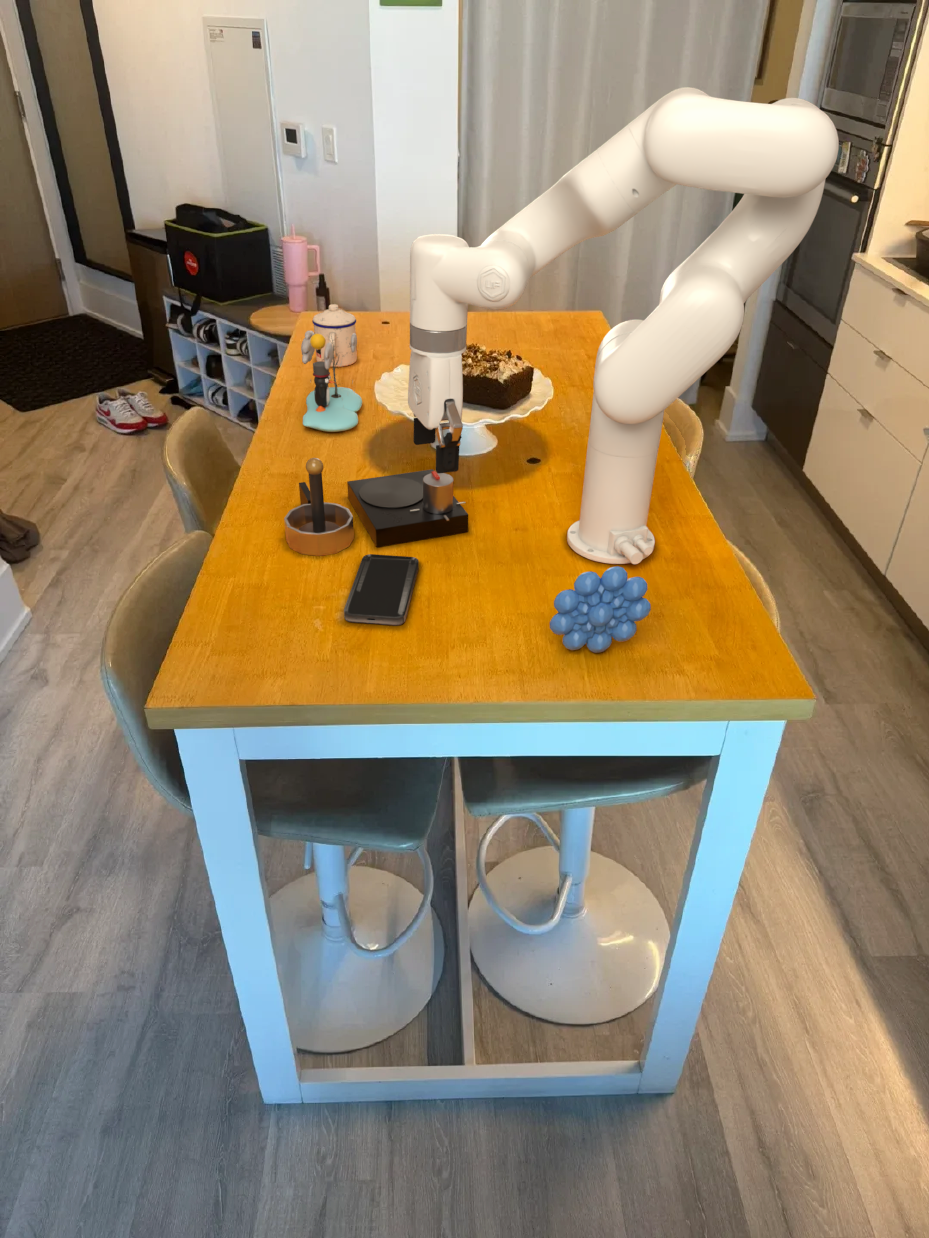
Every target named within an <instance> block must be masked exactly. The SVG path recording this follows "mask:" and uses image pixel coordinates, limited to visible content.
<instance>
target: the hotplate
mask: <svg viewBox="0 0 929 1238" xmlns="http://www.w3.org/2000/svg"><path fill="white" fill-rule="evenodd" d="M432 471H435V470H434V469H431V468H430V469H425V470H417V471H412V472H403V473H396V474H391V475H384V476H376V477H369V478H362V479H361V478H360V479H355V480H348V481H347V482H346V485H347V499H348V501H349V503H350V505H352V507H353V510H354V511H355V513H356V514H357V516H358V518H359V520H360V521H361V523H362V525H363V527H364V529H365V530H366V531H367V533H368V535H369V537H370V538H371V540H372V542H373V544H374V546H375V547H376V548H382V547H388V546H393V545H400V544H407V543H412V542H419V541H424V540H431V539H437V538H442V537H448V536H454V535H460V534H466V533H467V534H468V533H469V513H468V512H467V511H466V509H465V508H464V507H463V505H466V503H467V502H466V501H458V499H457V498H456V497H455V496H454V495H453V509H452V510H451V511H449V512H447V513H443V514H433V513H429V512H427V511H425V510H424V508H423V500H421V501H420V502H418V503H417V504H414V505H412V506H408V507H404V508H380V507H376V506H372V505H370V504H367V503H366V502H364V501H363V500H362V499H361V498H360V495H359V491H360V489H361V487H362V486H363V485H365V484H366V483H368V482H370V481H373V480H376V479H380V478H388V477H398V478H406V479H410V480H413V481H416V482H418V483H420V484H421V485H422V486H423V478H424V476H426V475H428V474H431V473H432Z"/></svg>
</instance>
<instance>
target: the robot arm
mask: <svg viewBox="0 0 929 1238" xmlns="http://www.w3.org/2000/svg"><path fill="white" fill-rule="evenodd" d="M839 143H840V142H839V135H838V131H837V128H836V126H835V124H834V122H833V120H832V119H831V118H830V116H829V115H828V114H826V112H825V111H823V110H821V109H820V108H819V107H818V106H817V105H815V104H814V103H812V102H810V101H808V100H806V99H803V98H798V97H786V98H781V99H779V100H777V101H775V102H773V103H761V102H752V101H742V100H734V99H726V98H720V97H715V96H710V95H709V94H708V93H706V92H705V91H703V90H701V89H698V88H697V87H690V86H689V87H688V86H685V87H684V86H683V87H680V88H679V87H678V88H676V89H673V90H672V91H670V92H668V93H666V94H665V95H663V96H661V98H659V99H658V100H657V101H655V102H654V103H653V104H651V105H650V106H649V107H648V108H647V109H645V110H644V111H643V112H642V113H640V114H639V115H637V116H636V117H635V118H634V119H633V120H631V121H630V122H629V123H627V124H626V125H625V126H624V127H623V128H621V129H620V130H619V131H618V132H616V133H615V134H614V135H613V136H611V137H610V138H609V139H608V140H606V141H605V142H604V143H603V144H602V145H600V146H599V147H597V148H596V149H595V150H594V151H593V152H591V153H590V154H589V155H587V156H586V157H585V158H584V159H582V160H581V161H580V162H578V163H577V164H576V165H574V167H572V168H571V169H570V170H569V171H567V172H566V173H565V174H563V176H562V177H560V178H559V179H558V181H557V182H555V183H554V184H553V185H552V186H550V187H549V188H548V189H546V190H545V191H544V192H543V193H541V194H540V195H539V196H537V197H536V198H535V199H533V201H531V202H530V203H529V204H527V205H526V206H525V207H523V208H522V209H521V210H519V212H517V213H516V214H515V215H513V216H512V217H511V218H509V219H508V220H507V221H506V222H504V223H503V224H502V225H501V226H500V227H498V228H497V229H496V230H495V231H493V232H492V233H491V234H490V235H489V236H488V237H487V238H486V239H485V240H484V241H483V242H482V243H481V244H480V245H479V246H475V247H474V246H473V247H472V246H471V247H470V246H469V244H468V242H467V241H466V240H465V239H463V238H461V237H459V236H456V235H452V234H442V233H433V234H425V235H421V236H418V237H417V238H415V239H414V240H413V242H412V243H411V246H410V252H409V349H410V356H409V370H408V387H407V388H408V389H407V405H408V407H409V409H410V411H411V412H412V414H413V441H412V442H413V444H414V445H415V446H420V445H428V444H434V443H436V438H437V443H438V444H437V445H435V471H436V473H445V474H448V473H455V472H458V471H459V468H460V467H459V465H460V446H461V444H462V443H461V442H462V441H461V440H462V439H463V437H462V432H463V428H464V425H463V422H462V419H463V409H464V408H463V405H464V399H463V397H464V377H463V375H464V373H463V357H462V356H463V355H462V354H464V353H465V352H466V351H467V342H468V341H467V338H468V311H469V306H474V307H478V308H481V309H486V310H490V311H501V310H506V309H509V308H511V307H512V306H515V304H517V303H518V301H520V299H521V298H522V297H523V295H524V293H525V290H526V289H527V286H528V284H529V281H530V280H531V279H532V278H533V277H534V276H536V274H537V273H539V272H540V271H542V270H543V269H544V268H546V267H547V266H548V265H550V264H551V263H552V262H553V261H555V260H556V259H558V258H559V257H560V256H561V255H563V254H565V253H566V252H567V251H569V250H570V249H572V248H573V247H575V246H577V245H578V244H580V243H582V242H584V241H587V240H589V239H593V238H599V237H604V236H606V235H609V234H610V233H613V232H614V231H616V230H618V228H620V227H621V226H623V225H624V224H625V223H627V222H628V221H629V220H631V219H632V218H633V217H634V216H636V215H637V214H638V213H640V212H641V211H643V210H644V209H645V208H646V207H648V206H649V205H651V204H652V203H653V202H655V201H656V200H657V199H658V198H660V197H661V196H663V195H664V194H666V192H669V191H670V190H671V189H672V188H674V187H675V186H677V185H679V186H683V187H690V188H694V189H699V190H701V189H702V190H708V191H715V192H724V193H734V194H735V193H736V194H742V197H741V199H740V200H739V202H738V203H737V204H736V206H735V207H734V208H733V209H732V211H731V212H730V213H729V214H727V216H726V217H725V218H724V220H723V221H721V223H720V224H719V225H718V227H716V229H715V230H714V231H713V232H712V233H710V235H708V236H707V237H706V239H705V240H704V241H703V242H702V243H701V244H700V245H699V246H698V247H696V249H695V250H694V251H693V252H692V253H690V255H689V256H688V257H687V258H686V259H685V260H683V261H682V262H681V263H680V264H679V265H678V266H677V267H676V268H675V269H673V271H671V273H670V274H669V275H668V276H667V278H666V279H665V281H664V283H663V285H662V286H661V290H660V294H659V300H658V301H659V302H658V305H657V306H656V307H655V308H654V310H653V311H652V312H651V313H650V314H649V315H647V317H646V318H645V319H638V318H637V319H629V320H625V321H623V322H620V323H618V324H616V325H615V326H614V327H612V328H611V329H610V330H609V331H608V332H607V333H606V334H605V335H604V337H603V339H602V340H601V342H600V344H599V347H598V349H597V353H596V358H595V364H594V374H593V384H592V385H593V386H592V387H593V394H592V403H591V413H590V421H589V432H588V439H587V448H586V457H585V466H584V476H583V483H582V484H583V486H582V494H581V503H580V512H579V520H577V521H575V522H573V523H572V524H571V525H570V527H569V528H568V530H567V534H566V541H567V544H568V546H569V547H570V549H572V550H573V551H574V553H576V554H578V555H579V556H580V557H583V558H586V559H588V560H590V561H593V562H597V563H601V564H610V565H625V564H632V565H638V564H639V563H641V562H642V561H643V560H644V559H646V558H648V557H649V556H650V555H651V554H652V553H653V552H654V549H655V543H656V539H655V536H654V534H653V532H652V531H651V530H650V529H649V527H648V526H647V524H648V519H649V511H650V504H651V499H652V493H653V492H652V491H653V486H654V478H655V472H656V467H657V460H658V453H659V448H660V443H661V436H662V429H663V423H664V416H665V410H666V409H667V408H668V407H670V406H671V405H672V404H673V403H674V402H675V401H676V400H677V399H678V398H679V397H681V396H682V395H683V394H684V393H686V391H687V390H688V389H689V388H691V387H692V386H693V384H695V383H696V382H697V381H698V380H699V379H700V378H701V377H703V375H704V374H705V373H706V372H708V371H709V370H710V369H711V368H712V367H714V365H715V364H716V363H717V362H718V361H719V360H721V358H722V357H723V356H724V355H725V354H726V353H727V352H728V351H729V350H730V348H731V346H733V344H734V343H735V341H736V340H737V338H738V336H739V335H740V332H741V329H742V327H743V323H744V318H745V303H746V302H747V300H748V299H750V298H751V296H752V295H754V293H755V292H756V291H757V290H758V289H759V288H760V287H761V286H763V284H764V283H766V281H767V280H768V279H769V278H770V277H771V276H772V275H773V273H775V271H776V270H777V269H778V268H779V267H780V266H781V265H782V264H783V263H784V262H785V261H786V260H787V259H788V258H789V257H790V256H791V254H792V253H794V251H795V250H796V248H797V247H798V246H799V245H800V243H801V242H802V241H803V239H804V238H805V236H806V235H807V233H808V231H809V230H810V228H811V226H812V224H813V222H814V220H815V217H816V215H817V213H818V211H819V208H820V204H821V201H822V197H823V193H824V190H825V185H826V178H828V177H829V175H830V173H831V172H832V171H833V169H834V166H835V164H836V162H837V158H838V154H839V149H840V146H839ZM444 421H448V422H444ZM444 430H449V432H447V433H446V434H445V435H444ZM436 436H437V437H436Z"/></svg>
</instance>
